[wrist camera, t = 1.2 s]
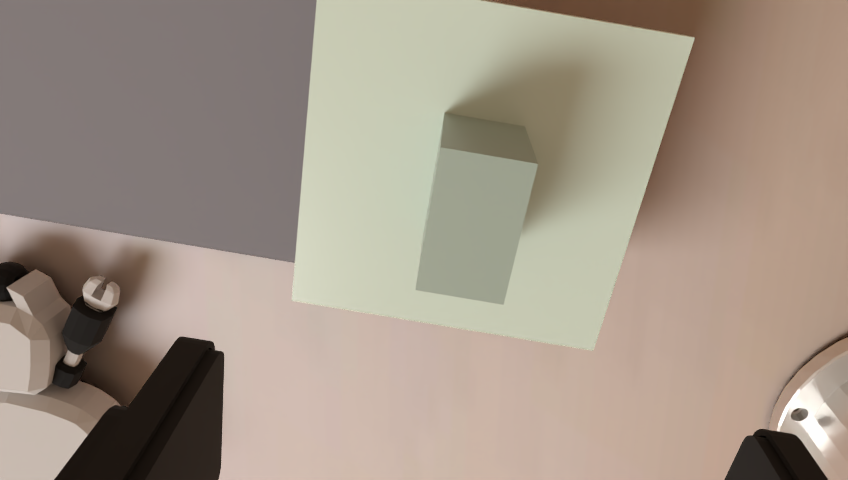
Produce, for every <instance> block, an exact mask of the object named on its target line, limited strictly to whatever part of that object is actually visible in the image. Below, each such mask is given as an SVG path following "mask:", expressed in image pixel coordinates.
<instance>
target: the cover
mask: <svg viewBox="0 0 848 480" xmlns="http://www.w3.org/2000/svg"><path fill="white" fill-rule="evenodd" d="M694 39H695V38H694V37H692V36H689V35H683V34H677V33H671V32H666V31H660V30H654V29H649V28H643V27H637V26H631V25H626V24H620V23H614V22H608V21H603V20H597V19H591V18H585V17H580V16H574V15H568V14H563V13H557V12H551V11H545V10H540V9H534V8H528V7H522V6H517V5H511V4H505V3H499V2H494V1H488V0H317V2H316V14H315V26H314V38H313V50H312V62H311V74H310V86H309V99H308V111H307V123H306V135H305V147H304V159H303V171H302V183H301V195H300V207H299V219H298V231H297V243H296V255H295V267H294V279H293V291H292V301H296V302H302V303H308V304H314V305H320V306H326V307H332V308H338V309H344V310H350V311H356V312H362V313H368V314H374V315H380V316H386V317H392V318H398V319H404V320H410V321H416V322H423V323H429V324H435V325H441V326H447V327H453V328H459V329H465V330H471V331H477V332H483V333H489V334H495V335H501V336H507V337H513V338H519V339H525V340H531V341H537V342H543V343H549V344H555V345H561V346H567V347H573V348H579V349H585V350H591V351H593V350H594V347H595V344H596V341H597V338H598V335H599V332H600V329H601V326H602V322H603V319H604V316H605V313H606V310H607V307H608V304H609V301H610V298H611V295H612V292H613V289H614V286H615V282H616V279H617V276H618V273H619V270H620V267H621V264H622V261H623V258H624V255H625V252H626V249H627V245H628V242H629V239H630V236H631V233H632V230H633V227H634V224H635V221H636V218H637V215H638V212H639V209H640V205H641V202H642V199H643V196H644V193H645V190H646V187H647V184H648V181H649V178H650V175H651V172H652V168H653V165H654V162H655V159H656V156H657V153H658V150H659V147H660V144H661V141H662V138H663V135H664V132H665V128H666V125H667V122H668V119H669V116H670V113H671V110H672V107H673V104H674V101H675V98H676V95H677V91H678V88H679V85H680V82H681V79H682V76H683V73H684V70H685V67H686V64H687V61H688V58H689V55H690V51H691V48H692V45H693V42H694Z"/></svg>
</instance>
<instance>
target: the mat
mask: <svg viewBox="0 0 848 480" xmlns="http://www.w3.org/2000/svg"><path fill="white" fill-rule="evenodd" d="M316 2H317V0H0V214H6V215H12V216H18V217H24V218H30V219H36V220H42V221H48V222H54V223H60V224H66V225H72V226H78V227H84V228H90V229H96V230H102V231H108V232H114V233H120V234H126V235H132V236H138V237H144V238H150V239H156V240H162V241H168V242H174V243H180V244H186V245H192V246H198V247H204V248H210V249H216V250H222V251H228V252H234V253H239V254H245V255H251V256H257V257H263V258H269V259H275V260H281V261H287V262H293V263H295V255H296V243H297V231H298V219H299V207H300V195H301V183H302V171H303V159H304V147H305V135H306V123H307V111H308V99H309V86H310V74H311V62H312V50H313V38H314V26H315V14H316Z"/></svg>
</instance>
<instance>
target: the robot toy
mask: <svg viewBox="0 0 848 480" xmlns="http://www.w3.org/2000/svg"><path fill="white" fill-rule="evenodd" d="M105 279H106V278H105V277H103V276H94V277H90V278H89V279H88V280H87V282H86V283H85V284H84V285H83V290H82V291H83V296H82V297H80V298H78V299H77V300H76V302H75V303H74V305H73V307H72V309H71V305H69V304H68V303H67V302H66V301H65V300H64V299H63V298H62V297H61V296H60V294H59V292H58V290H57V288H56V286H55V284H54V282H53V280H52V278H51V277H49V276H48V275H46V274H44V273H42V272H40V271H38V270H37V269H35V270H33V271H32V272H30V273H29V272H28V271H27V270H26V268H25V267H24V266H22V265H20V264H17V263H13V262H5V263H1V264H0V480H54V479H55V478H56V476H57V475H58V474H59V473H60V471H61V470H62V469H63V467H64V466H65V465H66V463H67V462H68V461H69V459H70V458H71V457H72V455H73V454H74V453H75V451H76V450H77V449H78V447H79V446H80V445H81V443H82V442H83V441H84V439H85V438H86V437H87V436H88V434H89V433H90V432H91V430H92V429H93V428H94V426H95V425H96V424H97V422H98V421H99V420H100V418H101V417H102V416H103V414H104V413H105V412H106V411H107V410H108V409H109V408H110V407H112V406H114V405H118V406H121V405H120V404H119V403H118V402H117V401H116V400H115V399H113V398H112V397H111V396H109V395H108V394H107V393H105V392H104V391H102V390H100V389H98V388H96V387H94V386H92V385H90V384H87V383H84V382H81V381H79V379H80V377H81V375H82V373H83V371H84V368H85V366H86V364H87V363H86V362H85V361H84V360H83V359H82V356H83V353H84V352H86V351H88V350H89V349H91V348H92V347H94V346H95V345H97V344H98V343H99V342H101V341H102V339H103V337H104V335H105V333H106V331H107V329H108V326H109V324H110V322H111V320H112V318H113V315H114V313H115V311H116V309H117V307H116V306H115V305H117V304H118V302H119V295H120V287H119V286H118V285H117V284H116V283H114V282H112V281H111V282H110V283H109V284H107V287H106V290H103V289H101V287H102V285H103V282H104V280H105Z"/></svg>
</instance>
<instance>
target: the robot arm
mask: <svg viewBox="0 0 848 480" xmlns="http://www.w3.org/2000/svg"><path fill="white" fill-rule="evenodd" d="M223 380H224V353H223V352H222V351H216V350H215V346H214V343H213V342H212V341H206V340H200V339H194V338H187V337H179V338H178V339H177V340H176V341H175V342H174V344H173V345H172V347H171V348H170V349H169V351H168V352H167V354H166V355H165V356H164V358H163V359H162V361H161V362H160V363H159V365H158V366H157V368H156V369H155V370H154V372H153V373H152V375H151V376H150V377H149V379H148V380H147V382H146V383H145V384H144V386H143V387H142V389H141V390H140V391H139V393H138V394H137V396H136V397H135V398H134V400H133V401H132V403H131V404H130V405H129V407H125V406H118V405H114V406H112V407H110V408H109V409H108V410H107V411H106V412H105V413H104V414H103V416H102V417H101V418H100V420H99V421H98V422H97V424H96V425H95V426H94V428H93V429H92V430H91V432H90V433H89V434H88V436H87V437H86V438H85V439H84V441H83V442H82V443H81V445H80V446H79V447H78V449H77V450H76V451H75V453H74V454H73V455H72V457H71V458H70V459H69V461H68V462H67V463H66V465H65V466H64V467H63V469H62V470H61V471H60V473H59V474H58V475H57V476H56V478H55V479H54V480H218V479H219V475H220V469H221V446H222V413H223ZM725 480H848V337H847V338H845V339H843V340H840V341H838V342H837V343H835V344H833V345H832V346H830V347H829V348H827V349H826V350H824V351H822V352H821V353H819V354H818V355H816V356H815V357H814V358H813V359H812V360H810V361H809V362H808V363H807V364H806V365H805V366H804V367H802V368H801V369H800V370H799V371H798V372H797V373H796V375H795V376H794V377H793V378H792V379H791V381H790V382H789V383H788V384H787V385H786V387H785V388H784V390H783V392H782V393H781V395H780V397H779V399H778V401H777V402H776V404H775V406H774V410H773V413H772V416H771V420H770V423H769V430H766V429H759V430H757V431H756V432H755V433H754V434H753V436H747V437H746V438H745V439H744V440H743V442H742V444H741V446H740V448H739V451H738V453H737V455H736V457H735V459H734V461H733V463H732V465H731V467H730V469H729V471H728V474H727V476H726V478H725Z"/></svg>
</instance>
